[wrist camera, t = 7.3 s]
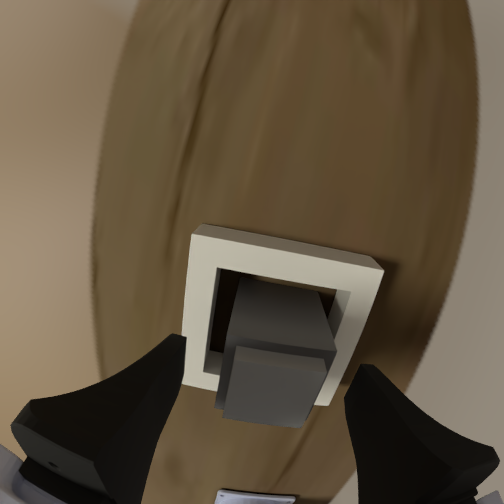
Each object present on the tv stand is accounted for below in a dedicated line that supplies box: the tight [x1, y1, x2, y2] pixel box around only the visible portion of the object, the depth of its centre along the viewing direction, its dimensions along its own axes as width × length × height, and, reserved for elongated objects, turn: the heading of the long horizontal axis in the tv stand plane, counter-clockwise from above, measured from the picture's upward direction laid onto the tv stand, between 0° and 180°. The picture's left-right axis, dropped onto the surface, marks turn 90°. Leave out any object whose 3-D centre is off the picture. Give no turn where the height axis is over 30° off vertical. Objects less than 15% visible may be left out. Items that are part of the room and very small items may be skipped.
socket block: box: [181, 224, 384, 406], centre depth 14 cm, size 8×8×2 cm
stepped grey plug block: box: [214, 277, 337, 428], centre depth 13 cm, size 4×4×6 cm
